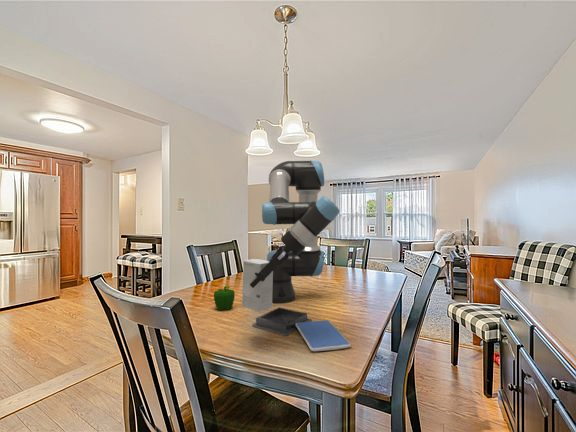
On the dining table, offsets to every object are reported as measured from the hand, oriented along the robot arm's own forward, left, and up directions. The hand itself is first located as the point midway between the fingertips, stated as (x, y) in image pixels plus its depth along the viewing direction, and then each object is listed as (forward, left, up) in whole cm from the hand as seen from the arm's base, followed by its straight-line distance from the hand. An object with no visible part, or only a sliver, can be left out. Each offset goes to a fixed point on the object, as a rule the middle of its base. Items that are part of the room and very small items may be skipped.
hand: (247, 288), depth 92 cm
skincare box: (+3, +2, -6) cm, 7 cm away
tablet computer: (+18, +14, -16) cm, 28 cm away
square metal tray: (+1, +18, -16) cm, 24 cm away
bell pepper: (-30, +19, -17) cm, 39 cm away
